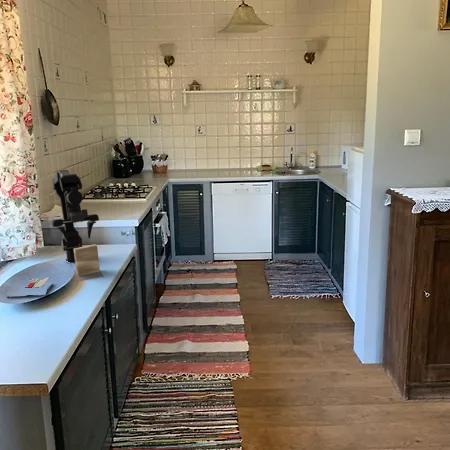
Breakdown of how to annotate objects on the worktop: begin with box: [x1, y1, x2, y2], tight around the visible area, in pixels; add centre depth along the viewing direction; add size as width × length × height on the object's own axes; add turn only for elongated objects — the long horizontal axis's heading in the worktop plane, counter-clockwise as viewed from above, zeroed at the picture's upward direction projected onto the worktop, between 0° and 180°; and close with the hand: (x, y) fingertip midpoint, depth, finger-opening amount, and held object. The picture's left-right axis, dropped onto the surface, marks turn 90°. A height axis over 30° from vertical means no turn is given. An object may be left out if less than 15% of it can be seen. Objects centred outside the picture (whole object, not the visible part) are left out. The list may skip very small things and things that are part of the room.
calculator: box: [25, 277, 51, 288], centre depth 190 cm, size 11×4×15 cm
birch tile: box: [74, 244, 101, 276], centre depth 206 cm, size 2×10×12 cm, turn 124°
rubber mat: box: [75, 270, 105, 282], centre depth 208 cm, size 16×10×1 cm, turn 25°
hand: (78, 240), depth 201 cm, fingers open, 9 cm apart
